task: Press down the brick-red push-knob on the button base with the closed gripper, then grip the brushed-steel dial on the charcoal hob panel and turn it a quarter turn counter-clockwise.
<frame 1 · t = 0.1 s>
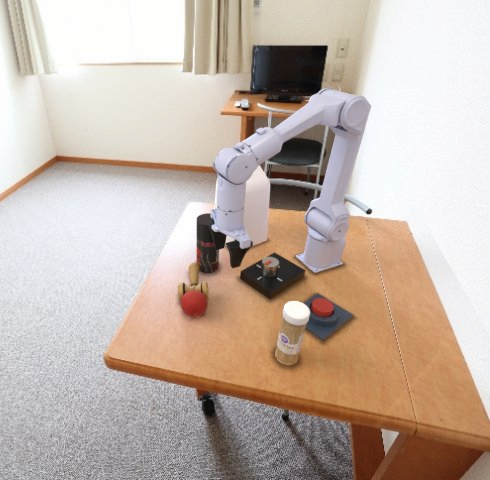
hand: (227, 257, 81), 10 cm above the table, tool pointing down, fingers open, 7 cm apart
hob panel: (271, 278, 90), on the table
deodorant: (207, 267, 95), on the table
dial: (269, 266, 87), point 4 cm above the table, hinge at 0.0°
button base: (319, 316, 78), on the table
sprinkles bottle: (286, 357, 70), on the table
milk: (238, 238, 106), on the table
kendama: (193, 295, 86), on the table
push knob: (322, 307, 77), point 3 cm above the table, slide at 0.1 cm
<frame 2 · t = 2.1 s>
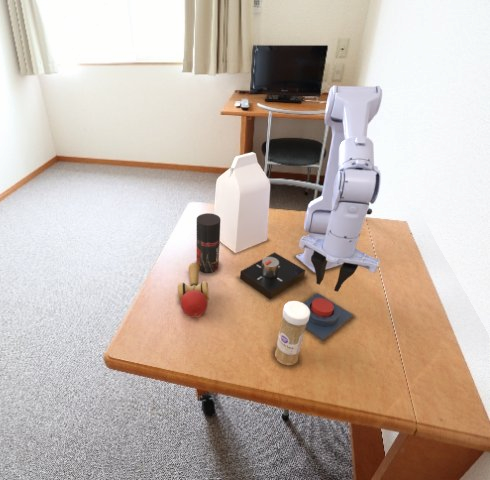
hand: (328, 285, 73), 9 cm above the table, tool pointing down, fingers open, 3 cm apart
nothing on the table moved.
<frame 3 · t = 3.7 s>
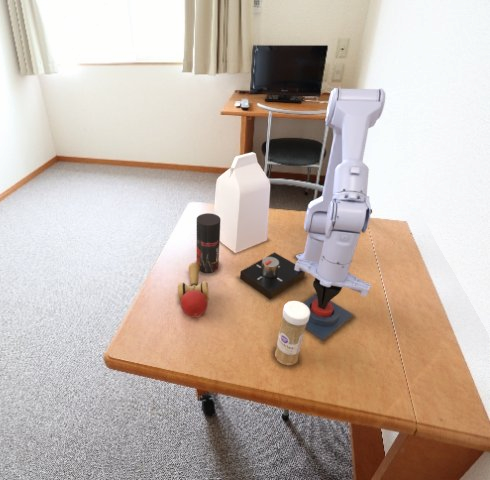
hand: (322, 305, 77), 3 cm above the table, tool pointing down, fingers closed, pressing on push knob
push knob: (322, 308, 77), point 3 cm above the table, slide at -0.1 cm, touching gripper
everything else where it was.
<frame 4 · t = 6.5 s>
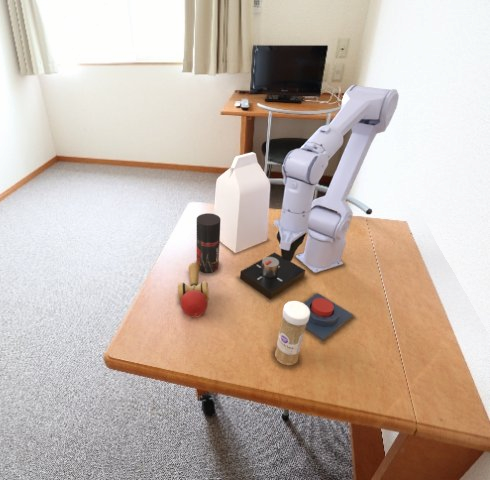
hand: (287, 258, 81), 10 cm above the table, tool pointing down, fingers closed
push knob: (322, 307, 77), point 3 cm above the table, slide at 0.1 cm
everything else where it was.
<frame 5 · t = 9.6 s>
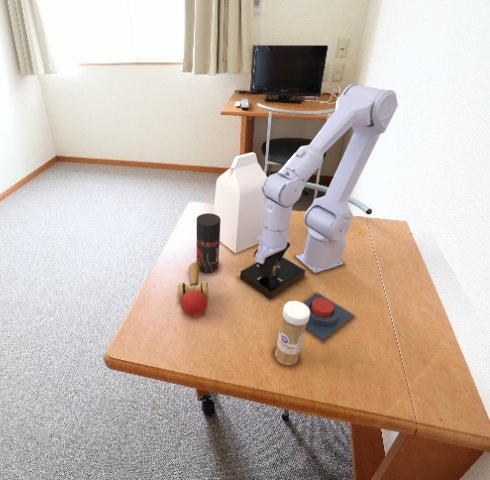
hand: (269, 271, 88), 3 cm above the table, tool pointing down, fingers closed on dial, 4 cm apart
dial: (269, 266, 87), point 4 cm above the table, hinge at -0.1°, touching gripper
everything else where it was.
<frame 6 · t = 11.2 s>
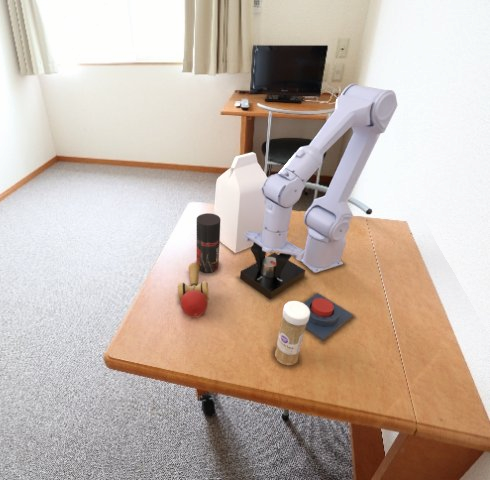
hand: (269, 272, 88), 3 cm above the table, tool pointing down, fingers closed on dial, 4 cm apart
dial: (269, 266, 87), point 4 cm above the table, hinge at 90.0°, touching gripper
everything else where it was.
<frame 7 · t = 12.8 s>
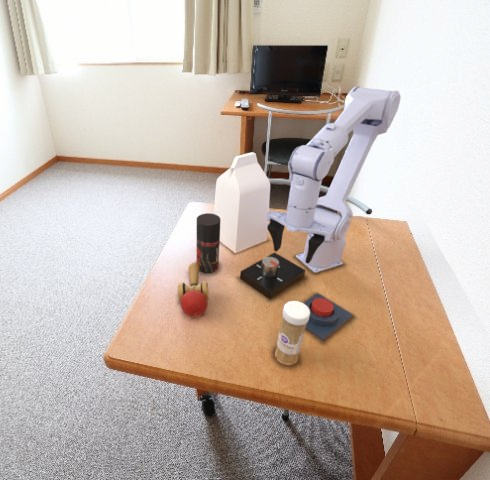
hand: (292, 254, 81), 10 cm above the table, tool pointing down, fingers open, 7 cm apart
dial: (269, 266, 87), point 4 cm above the table, hinge at 90.3°
everything else where it was.
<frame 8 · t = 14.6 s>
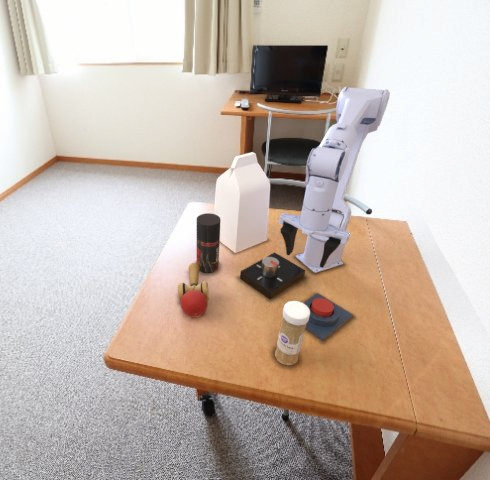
hand: (305, 258, 79), 10 cm above the table, tool pointing down, fingers open, 7 cm apart
nothing on the table moved.
at the end: push knob pushed in 1.1 cm at the most during the clip, back to where it started at the end; push knob slide at 0.1 cm; dial at +90° (first picture: +0°) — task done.
